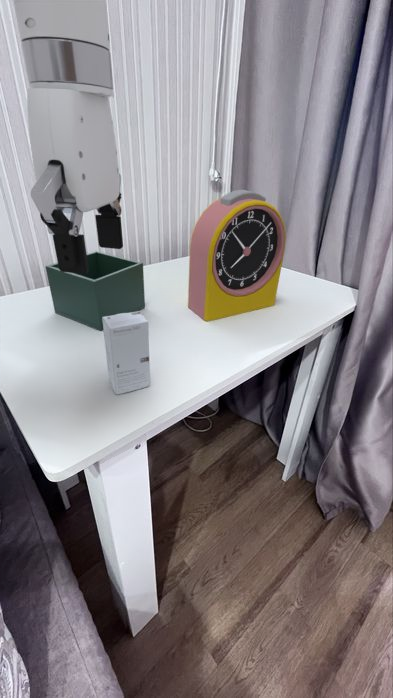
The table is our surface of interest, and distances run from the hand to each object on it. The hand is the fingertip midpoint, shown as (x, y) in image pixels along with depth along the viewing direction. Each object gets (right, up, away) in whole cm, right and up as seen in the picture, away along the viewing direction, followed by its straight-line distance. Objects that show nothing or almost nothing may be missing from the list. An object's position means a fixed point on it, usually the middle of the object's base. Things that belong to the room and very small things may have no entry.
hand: (94, 258), depth 40 cm
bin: (-10, -2, +38) cm, 40 cm away
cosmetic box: (+1, -17, +16) cm, 23 cm away
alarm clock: (+21, 0, +44) cm, 48 cm away
